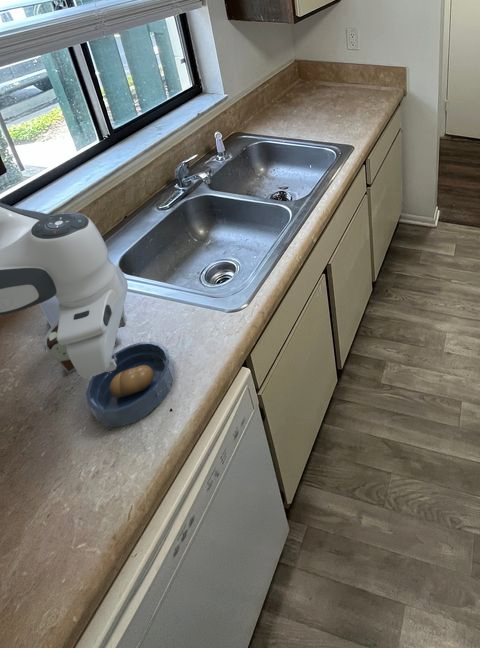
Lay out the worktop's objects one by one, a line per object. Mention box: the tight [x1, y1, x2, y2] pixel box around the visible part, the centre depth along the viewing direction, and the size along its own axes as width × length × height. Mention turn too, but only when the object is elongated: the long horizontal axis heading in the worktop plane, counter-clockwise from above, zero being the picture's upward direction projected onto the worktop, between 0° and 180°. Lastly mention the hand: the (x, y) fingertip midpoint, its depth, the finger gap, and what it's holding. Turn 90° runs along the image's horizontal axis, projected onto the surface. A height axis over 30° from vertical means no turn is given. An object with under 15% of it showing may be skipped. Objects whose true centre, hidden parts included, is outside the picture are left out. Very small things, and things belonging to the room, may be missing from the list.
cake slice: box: [43, 320, 119, 374], centre depth 95 cm, size 12×6×10 cm, turn 135°
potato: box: [110, 365, 154, 398], centre depth 87 cm, size 8×5×5 cm, turn 111°
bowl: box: [85, 341, 175, 428], centre depth 87 cm, size 14×14×5 cm
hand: (117, 345), depth 83 cm, fingers open, 8 cm apart
